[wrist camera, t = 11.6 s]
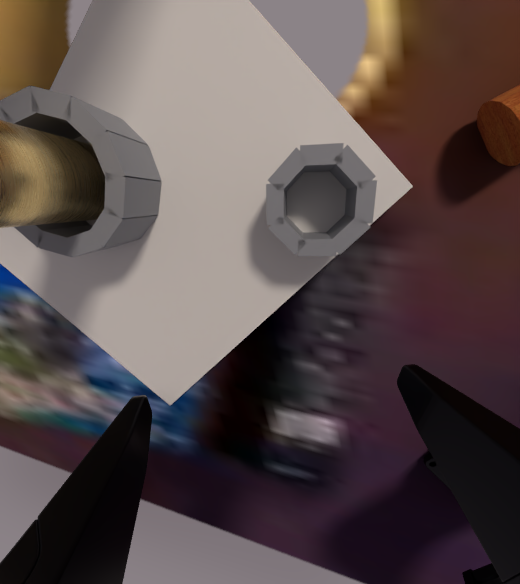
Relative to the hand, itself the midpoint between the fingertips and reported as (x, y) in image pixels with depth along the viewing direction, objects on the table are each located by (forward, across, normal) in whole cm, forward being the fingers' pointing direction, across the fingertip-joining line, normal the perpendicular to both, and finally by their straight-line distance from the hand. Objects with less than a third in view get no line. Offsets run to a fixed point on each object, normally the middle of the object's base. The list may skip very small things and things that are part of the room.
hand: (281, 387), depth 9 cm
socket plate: (+12, +5, -2) cm, 14 cm away
